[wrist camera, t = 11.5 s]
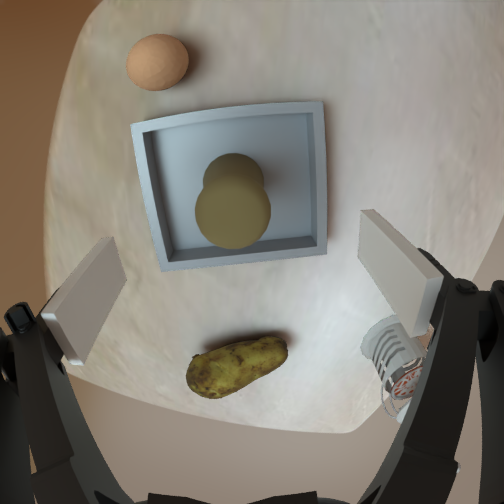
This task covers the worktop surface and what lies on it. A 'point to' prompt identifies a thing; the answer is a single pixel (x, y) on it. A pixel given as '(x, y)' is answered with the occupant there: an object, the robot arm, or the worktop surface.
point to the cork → (233, 202)
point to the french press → (395, 360)
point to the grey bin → (247, 143)
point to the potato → (234, 366)
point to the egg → (157, 62)
